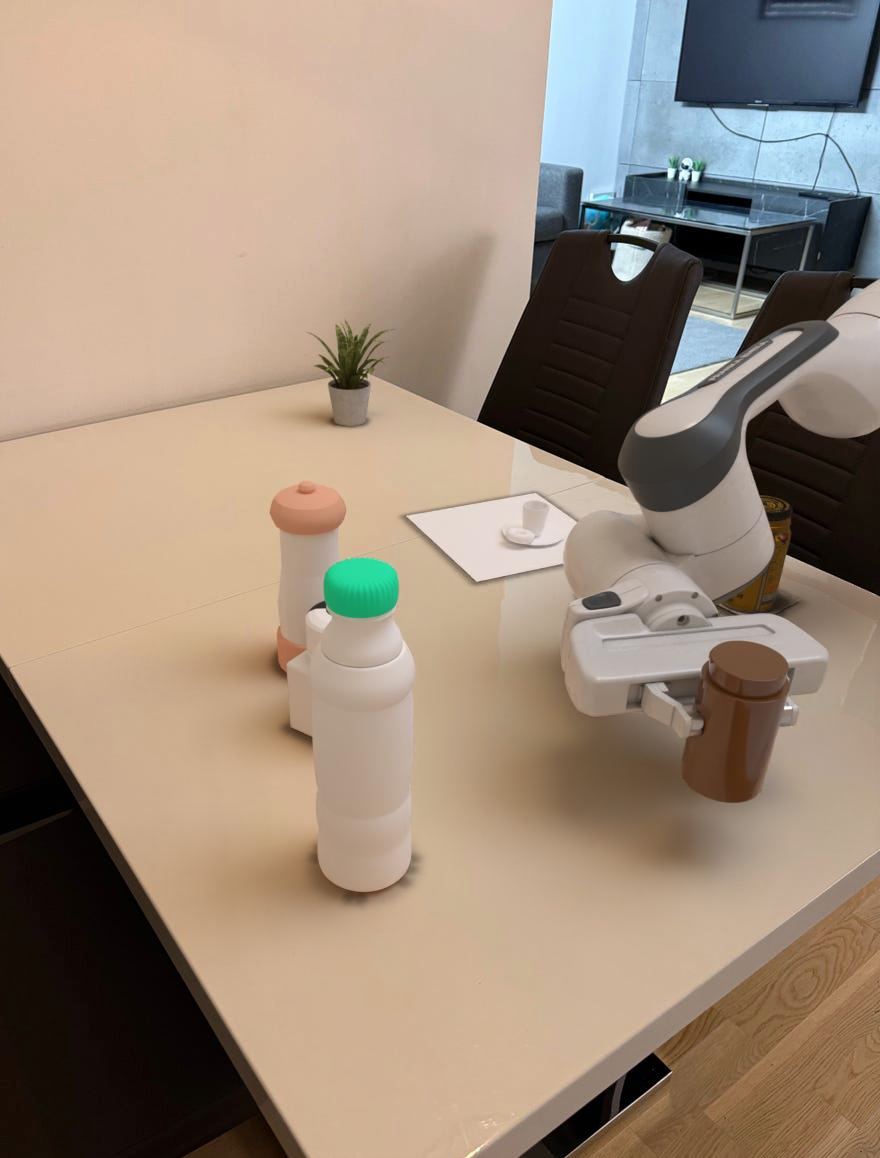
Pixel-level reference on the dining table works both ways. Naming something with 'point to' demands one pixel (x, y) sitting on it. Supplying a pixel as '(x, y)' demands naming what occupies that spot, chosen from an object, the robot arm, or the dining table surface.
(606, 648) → the robot arm
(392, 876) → the water bottle
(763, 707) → the jar
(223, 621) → the dining table surface
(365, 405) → the house plant
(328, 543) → the pepper shaker
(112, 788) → the dining table surface
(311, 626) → the medicine bottle
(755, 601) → the condiment
